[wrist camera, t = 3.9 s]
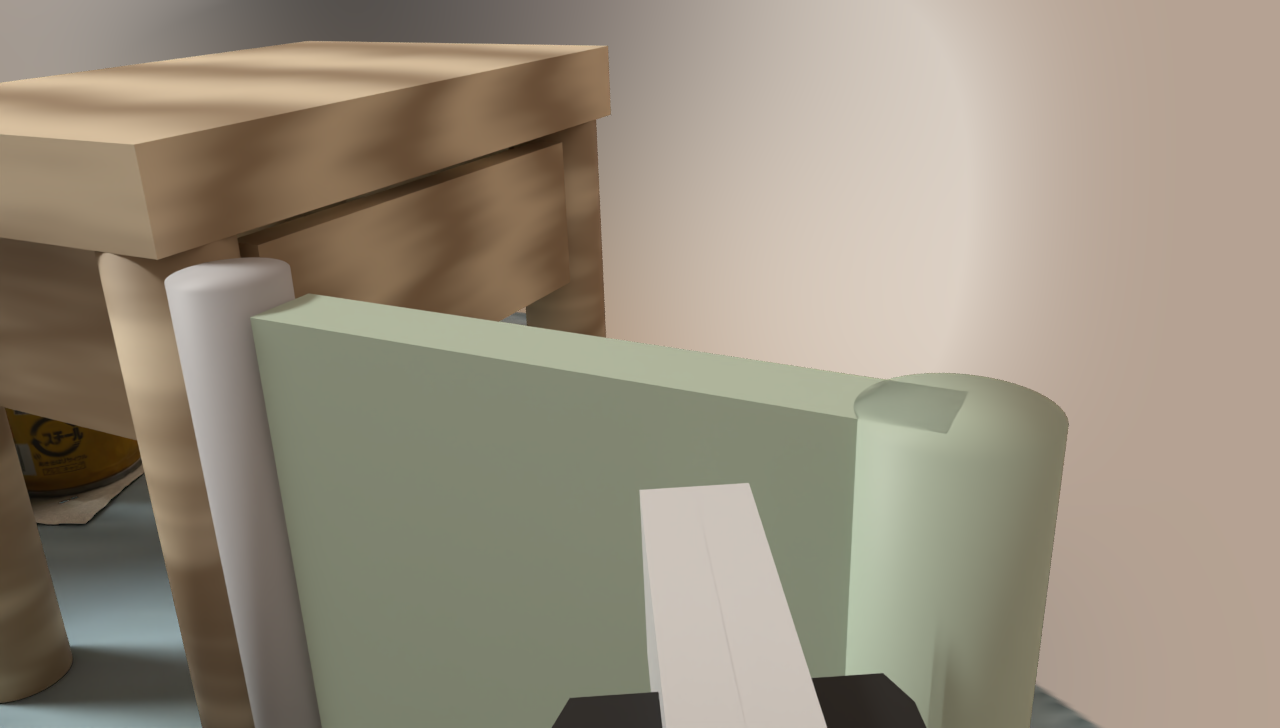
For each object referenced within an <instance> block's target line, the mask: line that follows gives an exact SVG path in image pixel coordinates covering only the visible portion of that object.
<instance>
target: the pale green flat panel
mask: <svg viewBox="0 0 1280 728" xmlns="http://www.w3.org/2000/svg"><path fill="white" fill-rule="evenodd" d="M164 284H165V289H166V293H167V298H168V303H169V308H170V313H171V318H172V323H173V328H174V333H175V338H176V342H177V347H178V352H179V357H180V362H181V367H182V372H183V377H184V382H185V387H186V391H187V396H188V401H189V406H190V411H191V416H192V421H193V426H194V431H195V436H196V440H197V445H198V450H199V455H200V460H201V465H202V470H203V475H204V480H205V485H206V489H207V494H208V499H209V504H210V509H211V514H212V519H213V524H214V529H215V534H216V538H217V543H218V548H219V553H220V558H221V563H222V568H223V573H224V578H225V583H226V587H227V592H228V597H229V602H230V607H231V612H232V617H233V622H234V627H235V632H236V636H237V641H238V646H239V651H240V656H241V661H242V666H243V671H244V676H245V681H246V685H247V690H248V695H249V700H250V705H251V710H252V715H253V720H254V725H255V728H552V726H553V725H554V723H555V721H556V720H557V718H558V716H559V715H560V713H561V711H562V710H563V708H564V706H565V705H566V703H567V701H568V700H569V698H576V697H590V696H604V695H619V694H633V693H647V692H651V687H650V677H649V666H648V655H647V634H646V614H645V593H644V573H643V552H642V532H641V511H640V490H645V489H661V488H677V487H693V486H708V485H724V484H740V483H749V485H750V488H751V491H752V494H753V497H754V500H755V504H756V507H757V510H758V513H759V516H760V519H761V522H762V525H763V529H764V532H765V535H766V538H767V541H768V544H769V547H770V550H771V554H772V557H773V560H774V563H775V566H776V569H777V572H778V575H779V579H780V582H781V585H782V588H783V591H784V594H785V597H786V601H787V604H788V607H789V610H790V613H791V616H792V619H793V622H794V626H795V629H796V632H797V635H798V638H799V641H800V644H801V647H802V651H803V654H804V657H805V660H806V663H807V666H808V669H809V673H810V676H811V678H819V677H833V676H848V675H862V674H876V673H884V674H885V675H886V676H887V677H888V678H889V679H890V680H891V681H892V682H894V683H895V684H896V685H897V686H898V687H899V688H900V689H901V690H902V691H904V692H905V693H906V694H907V695H908V696H909V697H910V698H911V699H912V700H913V701H915V703H916V705H917V708H918V710H919V712H920V714H921V717H922V719H923V721H924V723H925V726H926V728H1030V721H1031V713H1032V706H1033V698H1034V690H1035V682H1036V675H1037V667H1038V659H1039V650H1040V643H1041V636H1042V628H1043V620H1044V612H1045V604H1046V597H1047V589H1048V581H1049V573H1050V566H1051V557H1052V550H1053V542H1054V534H1055V527H1056V519H1057V511H1058V503H1059V495H1060V487H1061V480H1062V471H1063V465H1064V457H1065V449H1066V441H1067V434H1068V425H1069V423H1068V418H1067V416H1066V414H1065V412H1064V411H1063V410H1062V409H1061V408H1060V407H1059V406H1058V405H1057V404H1056V403H1055V402H1053V401H1052V400H1050V399H1049V398H1047V397H1046V396H1043V395H1041V394H1040V393H1038V392H1036V391H1033V390H1031V389H1028V388H1026V387H1023V386H1020V385H1017V384H1014V383H1010V382H1007V381H1003V380H998V379H994V378H989V377H983V376H975V375H968V374H956V373H924V374H913V375H905V376H901V377H895V378H891V379H887V380H886V379H879V378H872V377H866V376H858V375H852V374H845V373H839V372H832V371H825V370H818V369H811V368H805V367H798V366H792V365H785V364H778V363H772V362H765V361H758V360H751V359H744V358H738V357H732V356H725V355H718V354H711V353H705V352H698V351H691V350H684V349H678V348H671V347H665V346H658V345H651V344H644V343H638V342H631V341H624V340H617V339H611V338H604V337H598V336H591V335H584V334H577V333H571V332H564V331H557V330H551V329H544V328H537V327H531V326H524V325H517V324H510V323H504V322H497V321H490V320H484V319H477V318H470V317H464V316H457V315H450V314H443V313H437V312H430V311H423V310H417V309H410V308H403V307H397V306H390V305H383V304H376V303H370V302H363V301H356V300H350V299H343V298H336V297H330V296H323V295H316V294H309V293H308V294H306V295H304V296H301V297H299V298H296V299H295V295H294V288H293V282H292V275H291V269H290V265H289V264H288V263H286V262H285V261H282V260H278V259H273V258H261V257H247V258H233V259H224V260H217V261H211V262H206V263H202V264H198V265H194V266H190V267H187V268H184V269H182V270H179V271H177V272H175V273H173V274H171V275H170V276H168V277H167V278H166V279H165V282H164Z"/></svg>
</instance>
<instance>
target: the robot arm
mask: <svg viewBox="0 0 1280 728" xmlns="http://www.w3.org/2000/svg"><path fill="white" fill-rule="evenodd" d="M640 511H641V532H642V552H643V573H644V593H645V614H646V634H647V655H648V666H649V677H650V687H651V692H647V693H633V694H619V695H604V696H590V697H576V698H569V700H568V701H567V703H566V705H565V706H564V708H563V710H562V711H561V713H560V715H559V716H558V718H557V720H556V721H555V723H554V725H553V726H552V728H926V726H925V723H924V721H923V719H922V717H921V714H920V712H919V710H918V708H917V705H916V703H915V701H913V700H912V699H911V698H910V697H909V696H908V695H907V694H906V693H905V692H904V691H902V690H901V689H900V688H899V687H898V686H897V685H896V684H895V683H894V682H892V681H891V680H890V679H889V678H888V677H887V676H886V675H885V674H884V673H876V674H862V675H848V676H833V677H819V678H811V676H810V673H809V669H808V666H807V663H806V660H805V657H804V654H803V651H802V647H801V644H800V641H799V638H798V635H797V632H796V629H795V626H794V622H793V619H792V616H791V613H790V610H789V607H788V604H787V601H786V597H785V594H784V591H783V588H782V585H781V582H780V579H779V575H778V572H777V569H776V566H775V563H774V560H773V557H772V554H771V550H770V547H769V544H768V541H767V538H766V535H765V532H764V529H763V525H762V522H761V519H760V516H759V513H758V510H757V507H756V504H755V500H754V497H753V494H752V491H751V488H750V485H749V483H740V484H724V485H708V486H693V487H677V488H661V489H645V490H640Z"/></svg>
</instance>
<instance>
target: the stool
mask: <svg viewBox="0 0 1280 728" xmlns="http://www.w3.org/2000/svg"><path fill="white" fill-rule="evenodd" d="M608 59H609V58H608V46H583V45H582V46H581V45H519V44H458V43H457V44H456V43H397V42H395V43H394V42H334V41H306V42H298V43H291V44H284V45H276V46H268V47H261V48H254V49H246V50H239V51H231V52H224V53H217V54H209V55H203V56H194V57H187V58H180V59H172V60H165V61H157V62H150V63H143V64H135V65H128V66H121V67H113V68H106V69H98V70H91V71H84V72H76V73H69V74H61V75H54V76H47V77H39V78H32V79H25V80H17V81H10V82H3V83H0V703H5V702H11V701H15V700H19V699H23V698H26V697H29V696H31V695H34V694H36V693H38V692H41V691H42V690H44V689H46V688H48V687H50V686H51V685H53V684H54V683H56V682H57V681H58V680H59V679H61V678H62V677H63V676H64V675H65V674H66V673H67V671H68V670H69V669H70V667H71V665H72V661H73V656H72V652H71V649H70V645H69V641H68V638H67V634H66V630H65V627H64V623H63V619H62V616H61V612H60V608H59V605H58V601H57V597H56V594H55V590H54V586H53V583H52V579H51V576H50V572H49V568H48V565H47V561H46V557H45V554H44V550H43V546H42V543H41V539H40V535H39V532H38V528H37V524H36V521H35V517H34V513H33V510H32V506H31V503H30V499H29V495H28V492H27V488H26V484H25V481H24V477H23V473H22V470H21V466H20V462H19V459H18V455H17V451H16V448H15V444H14V441H13V437H12V433H11V430H10V426H9V422H8V419H7V415H6V411H5V408H9V409H13V410H17V411H21V412H25V413H29V414H33V415H37V416H41V417H45V418H49V419H53V420H57V421H61V422H65V423H69V424H73V425H77V426H81V427H85V428H89V429H93V430H97V431H101V432H105V433H109V434H113V435H117V436H121V437H125V438H129V439H133V440H137V441H138V446H139V450H140V455H141V459H142V464H143V468H144V472H145V477H146V481H147V486H148V490H149V494H150V499H151V503H152V508H153V512H154V516H155V521H156V525H157V530H158V534H159V539H160V543H161V547H162V552H163V556H164V561H165V565H166V569H167V574H168V578H169V583H170V587H171V591H172V596H173V600H174V605H175V609H176V614H177V618H178V622H179V627H180V631H181V636H182V640H183V644H184V649H185V653H186V658H187V662H188V666H189V671H190V675H191V680H192V684H193V689H194V693H195V697H196V702H197V706H198V711H199V715H200V719H201V724H202V728H255V725H254V720H253V715H252V710H251V705H250V700H249V695H248V690H247V685H246V681H245V676H244V671H243V666H242V661H241V656H240V651H239V646H238V641H237V636H236V632H235V627H234V622H233V617H232V612H231V607H230V602H229V597H228V592H227V587H226V583H225V578H224V573H223V568H222V563H221V558H220V553H219V548H218V543H217V538H216V534H215V529H214V524H213V519H212V514H211V509H210V504H209V499H208V494H207V489H206V485H205V480H204V475H203V470H202V465H201V460H200V455H199V450H198V445H197V440H196V436H195V431H194V426H193V421H192V416H191V411H190V406H189V401H188V396H187V391H186V387H185V382H184V377H183V372H182V367H181V362H180V357H179V352H178V347H177V342H176V338H175V333H174V328H173V323H172V318H171V313H170V308H169V303H168V298H167V293H166V289H165V284H164V282H165V279H166V278H167V277H168V276H170V275H171V274H173V273H175V272H177V271H179V270H182V269H184V268H187V267H190V266H194V265H198V264H202V263H206V262H211V261H217V260H224V259H233V258H247V257H261V258H273V259H278V260H282V261H285V262H286V263H288V264H289V265H290V269H291V275H292V282H293V288H294V295H295V299H296V298H299V297H301V296H304V295H306V294H308V293H309V294H316V295H323V296H330V297H336V298H343V299H350V300H356V301H363V302H370V303H376V304H383V305H390V306H397V307H403V308H410V309H417V310H423V311H430V312H437V313H443V314H450V315H457V316H464V317H470V318H477V319H484V320H490V321H497V322H499V321H501V320H503V319H504V318H506V317H508V316H510V315H512V314H513V313H515V312H517V311H519V310H520V309H522V308H524V307H526V318H527V326H531V327H537V328H544V329H551V330H557V331H564V332H571V333H577V334H584V335H591V336H598V337H604V338H606V327H605V308H604V307H605V306H604V283H603V261H602V242H601V241H602V240H601V218H600V196H599V176H598V175H599V174H598V152H597V132H596V131H597V130H596V119H599V118H602V117H605V116H608V115H610V114H611V107H610V82H609V61H608ZM4 407H5V408H4Z"/></svg>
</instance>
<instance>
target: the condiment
mask: <svg viewBox="0 0 1280 728" xmlns="http://www.w3.org/2000/svg"><path fill="white" fill-rule="evenodd" d="M4 408H5V407H4ZM5 411H6V415H7V419H8V422H9V426H10V430H11V433H12V437H13V441H14V444H15V448H16V451H17V455H18V459H19V462H20V466H21V470H22V473H23V477H24V481H25V484H26V488H27V492H28V495H29V499H30V503H31V506H32V510H33V513H34V517H35V521H36V523H43V524H60V523H76V524H86V523H87V522H88V521H89V520H90V519H91V518H92V517H93V516H94V514H95V513H97V512H98V511H99V510H100V509H102V508H104V507H105V506H106V505H107V504H108V502H109V501H110V500H111V499H112V498H113V497H115V496H116V495H117V494H118V493H120V492H121V491H122V490H123V488H124V487H125V486H128V485H129V484H130V483H131V482H132V481H133V480H135V479H136V478H138V477H139V476H140V475H142V474H143V473H144V468H143V464H142V459H141V455H140V450H139V446H138V441H137V440H133V439H129V438H125V437H121V436H117V435H113V434H109V433H105V432H101V431H97V430H93V429H89V428H85V427H81V426H77V425H73V424H69V423H65V422H61V421H57V420H53V419H49V418H45V417H41V416H37V415H33V414H29V413H25V412H21V411H17V410H13V409H9V408H5ZM72 497H78V498H75V499H71V498H72ZM65 500H69V501H67V502H64V503H59V502H62V501H65Z"/></svg>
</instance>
